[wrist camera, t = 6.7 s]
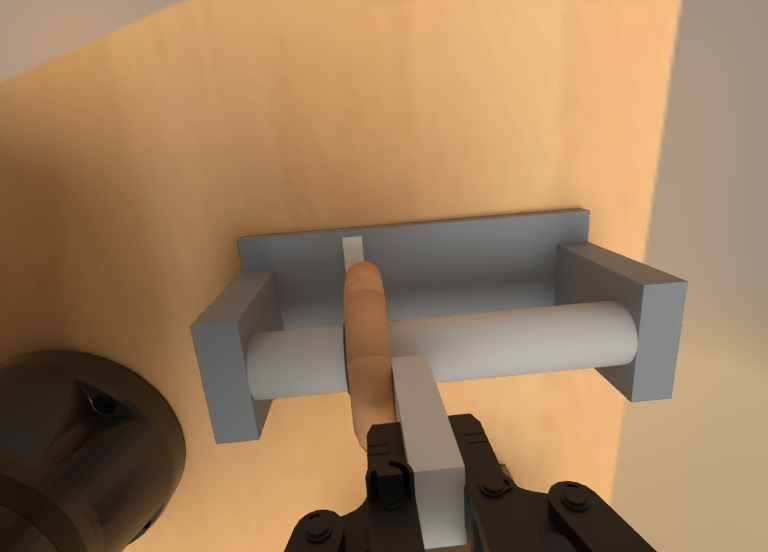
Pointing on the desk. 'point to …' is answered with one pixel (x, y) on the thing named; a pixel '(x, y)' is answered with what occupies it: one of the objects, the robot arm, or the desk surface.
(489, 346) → the pipe stand
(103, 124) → the desk surface
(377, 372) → the o-ring
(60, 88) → the desk surface
